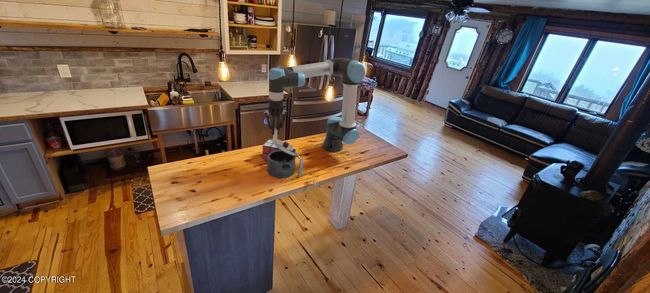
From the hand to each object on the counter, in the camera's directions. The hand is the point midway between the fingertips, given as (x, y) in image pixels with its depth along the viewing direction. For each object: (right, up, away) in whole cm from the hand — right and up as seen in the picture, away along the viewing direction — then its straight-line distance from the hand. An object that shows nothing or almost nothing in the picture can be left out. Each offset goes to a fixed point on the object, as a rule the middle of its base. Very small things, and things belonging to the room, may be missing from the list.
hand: (275, 139), depth 152 cm
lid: (+4, -5, +5) cm, 9 cm away
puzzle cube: (-6, -11, +25) cm, 28 cm away
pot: (+2, -19, +11) cm, 22 cm away
